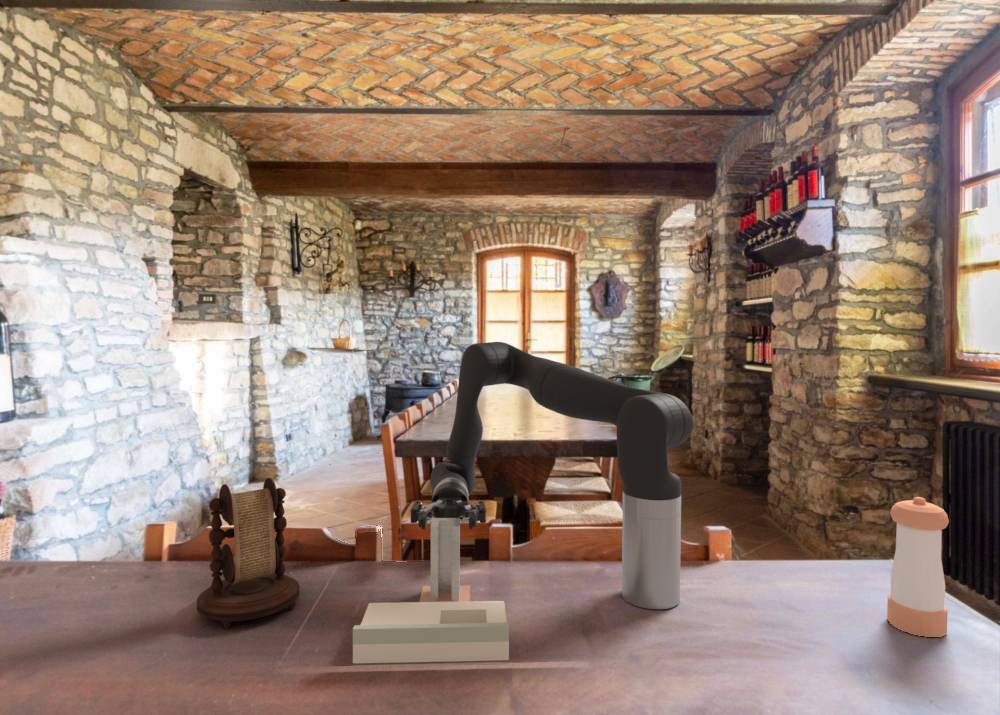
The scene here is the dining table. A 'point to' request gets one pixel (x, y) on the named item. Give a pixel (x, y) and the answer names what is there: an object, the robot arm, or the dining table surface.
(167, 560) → the dining table surface
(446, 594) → the tile
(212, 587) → the scroll
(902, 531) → the salt shaker
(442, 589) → the clip
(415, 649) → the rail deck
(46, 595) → the dining table surface
